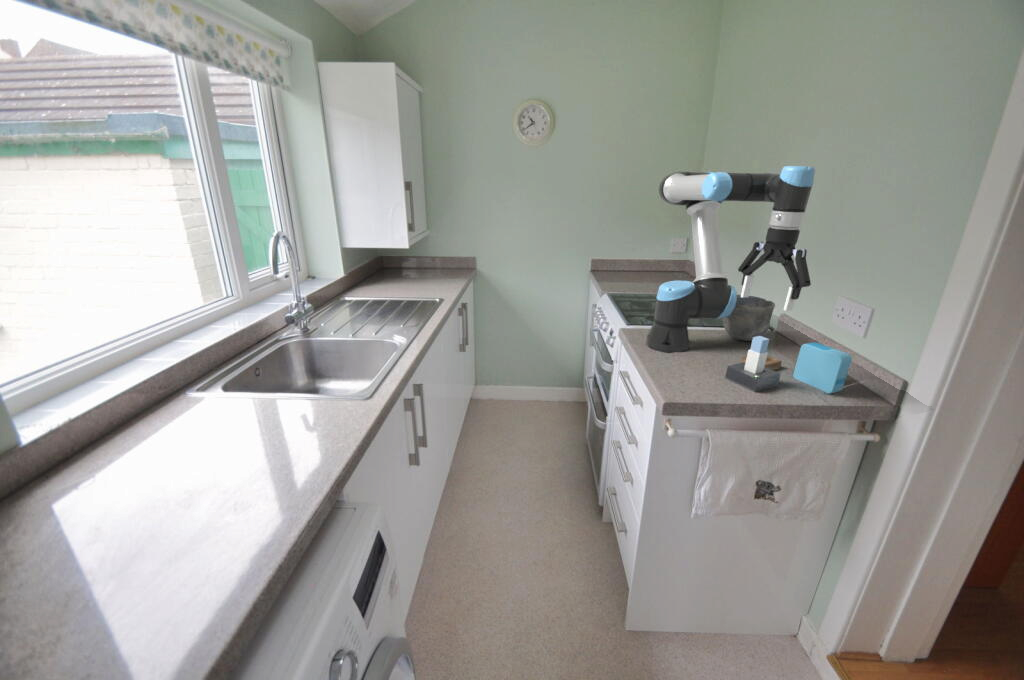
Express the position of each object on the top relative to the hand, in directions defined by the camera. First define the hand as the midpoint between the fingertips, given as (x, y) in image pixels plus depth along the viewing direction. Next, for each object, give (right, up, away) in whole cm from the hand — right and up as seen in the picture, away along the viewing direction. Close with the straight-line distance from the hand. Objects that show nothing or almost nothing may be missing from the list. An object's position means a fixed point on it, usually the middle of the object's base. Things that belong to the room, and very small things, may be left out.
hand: (765, 303), depth 124 cm
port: (-1, -24, +5) cm, 24 cm away
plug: (-1, -22, +5) cm, 23 cm away
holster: (+8, -19, +17) cm, 27 cm away
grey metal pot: (+16, -10, +43) cm, 47 cm away
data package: (+18, -25, +5) cm, 31 cm away
